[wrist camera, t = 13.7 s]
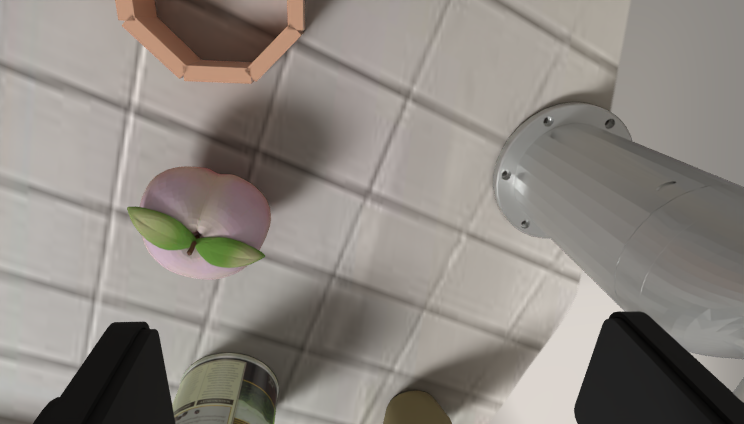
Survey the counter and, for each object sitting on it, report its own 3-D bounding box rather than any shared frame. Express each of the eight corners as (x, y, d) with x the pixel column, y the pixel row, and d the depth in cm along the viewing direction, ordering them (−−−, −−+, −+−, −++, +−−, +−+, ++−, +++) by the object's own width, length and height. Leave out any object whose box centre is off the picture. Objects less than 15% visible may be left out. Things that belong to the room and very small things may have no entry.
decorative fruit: (158, 227, 37) (105, 295, 28) (170, 138, 34) (115, 182, 25) (266, 250, 39) (249, 320, 30) (286, 168, 36) (274, 219, 27)
